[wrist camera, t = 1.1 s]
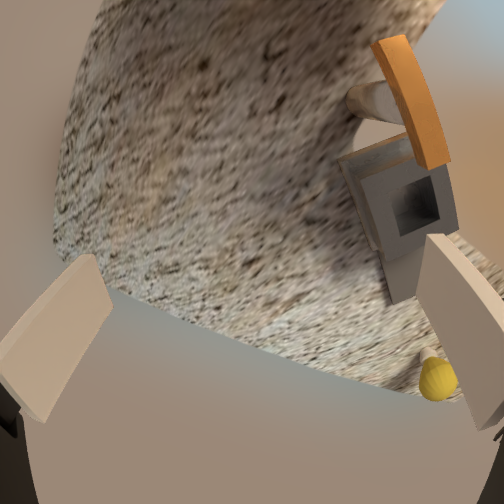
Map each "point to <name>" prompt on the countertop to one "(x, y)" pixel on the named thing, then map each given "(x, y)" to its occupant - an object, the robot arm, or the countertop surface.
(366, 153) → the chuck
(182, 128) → the countertop surface
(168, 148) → the countertop surface
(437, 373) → the light bulb
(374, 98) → the key
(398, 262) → the mat
